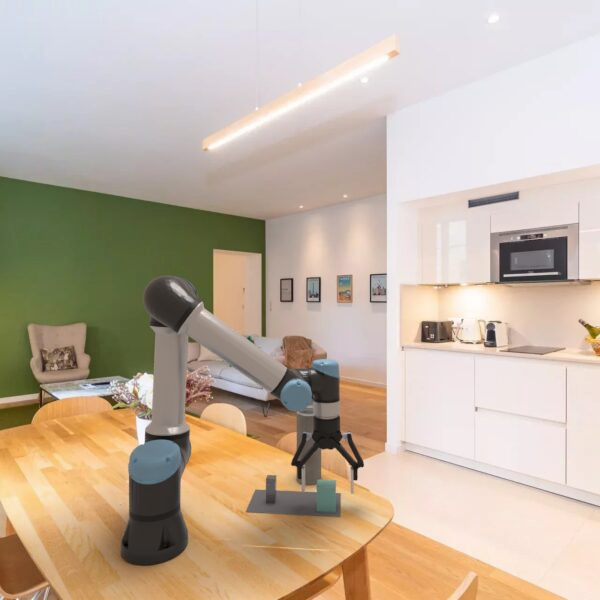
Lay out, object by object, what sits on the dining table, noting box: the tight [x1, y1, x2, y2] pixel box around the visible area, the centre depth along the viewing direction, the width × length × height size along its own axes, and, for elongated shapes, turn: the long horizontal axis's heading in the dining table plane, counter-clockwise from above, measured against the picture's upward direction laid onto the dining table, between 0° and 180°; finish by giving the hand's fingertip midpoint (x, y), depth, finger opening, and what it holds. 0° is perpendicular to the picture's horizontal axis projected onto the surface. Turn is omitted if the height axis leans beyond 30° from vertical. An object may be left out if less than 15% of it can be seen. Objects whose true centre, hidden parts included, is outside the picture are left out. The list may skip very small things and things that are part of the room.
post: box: [265, 474, 277, 504], centre depth 124 cm, size 3×3×7 cm
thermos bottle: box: [296, 395, 322, 487], centre depth 138 cm, size 8×8×28 cm
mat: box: [245, 488, 342, 518], centre depth 123 cm, size 14×26×1 cm, turn 85°
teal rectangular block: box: [316, 479, 337, 512], centre depth 121 cm, size 5×5×7 cm
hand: (327, 490), depth 121 cm, fingers open, 13 cm apart
